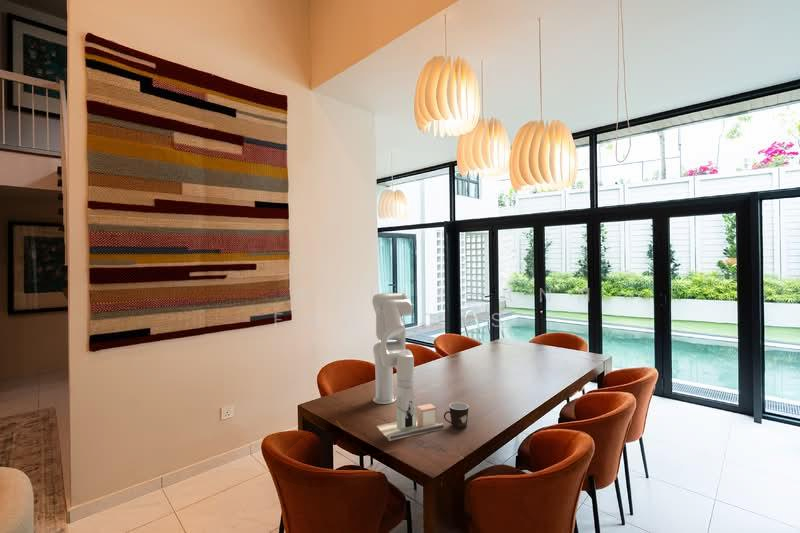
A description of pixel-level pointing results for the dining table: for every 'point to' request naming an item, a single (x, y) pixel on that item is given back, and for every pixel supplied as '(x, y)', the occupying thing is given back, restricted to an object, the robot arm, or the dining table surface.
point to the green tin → (401, 419)
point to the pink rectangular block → (426, 415)
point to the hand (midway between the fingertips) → (406, 423)
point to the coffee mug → (458, 415)
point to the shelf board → (394, 433)
